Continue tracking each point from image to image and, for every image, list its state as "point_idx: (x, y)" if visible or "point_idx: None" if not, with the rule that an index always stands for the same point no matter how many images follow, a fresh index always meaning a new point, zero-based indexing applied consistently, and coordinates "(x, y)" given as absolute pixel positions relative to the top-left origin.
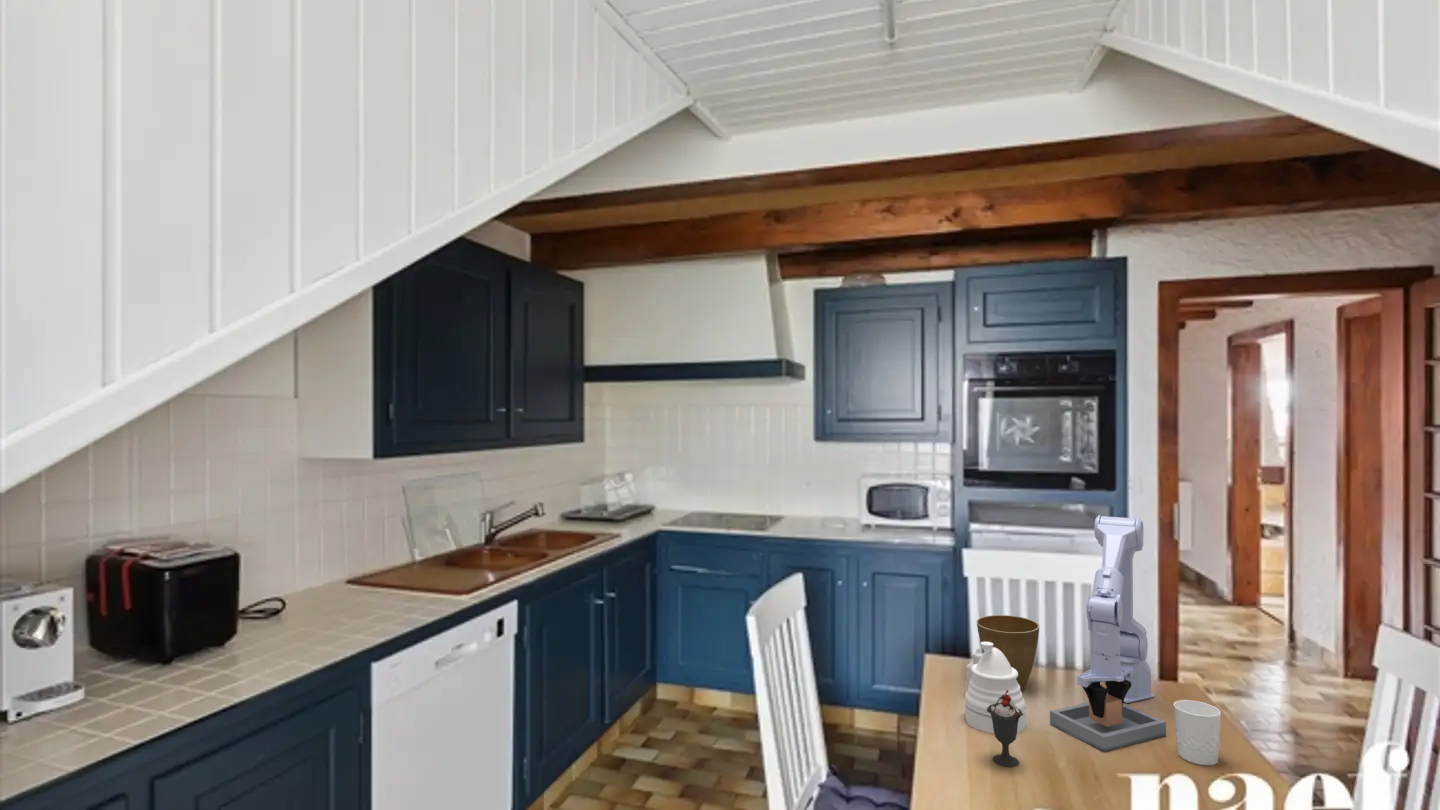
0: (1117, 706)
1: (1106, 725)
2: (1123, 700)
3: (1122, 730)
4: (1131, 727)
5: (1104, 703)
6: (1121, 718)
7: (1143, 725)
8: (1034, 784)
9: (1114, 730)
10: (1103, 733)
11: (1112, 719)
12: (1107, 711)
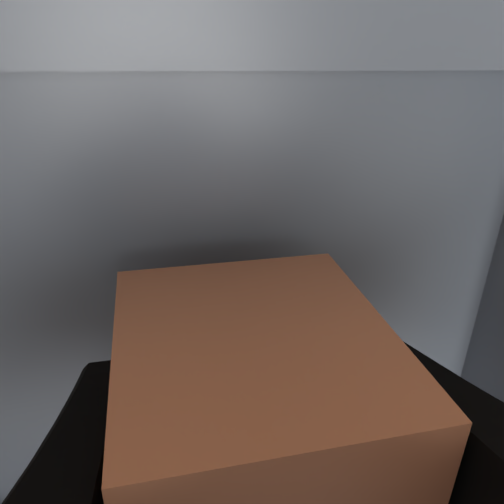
0: (204, 393)
1: (330, 262)
2: (19, 494)
3: (406, 43)
4: (231, 59)
5: (478, 430)
6: (123, 297)
7: (8, 31)
8: None
9: (212, 244)
10: (344, 230)
11: (269, 289)
12: (386, 341)
